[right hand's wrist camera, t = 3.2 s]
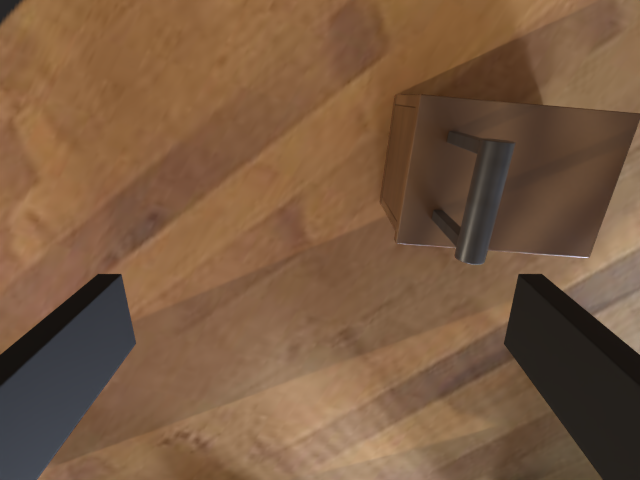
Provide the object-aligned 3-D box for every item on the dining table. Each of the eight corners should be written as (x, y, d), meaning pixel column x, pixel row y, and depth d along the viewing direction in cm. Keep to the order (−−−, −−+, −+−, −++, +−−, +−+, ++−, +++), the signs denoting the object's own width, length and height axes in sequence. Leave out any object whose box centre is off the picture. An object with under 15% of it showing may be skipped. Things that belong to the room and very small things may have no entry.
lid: (393, 239, 27) (420, 292, 20) (417, 94, 24) (460, 94, 16) (581, 253, 28) (675, 310, 20) (631, 113, 24) (766, 121, 17)
